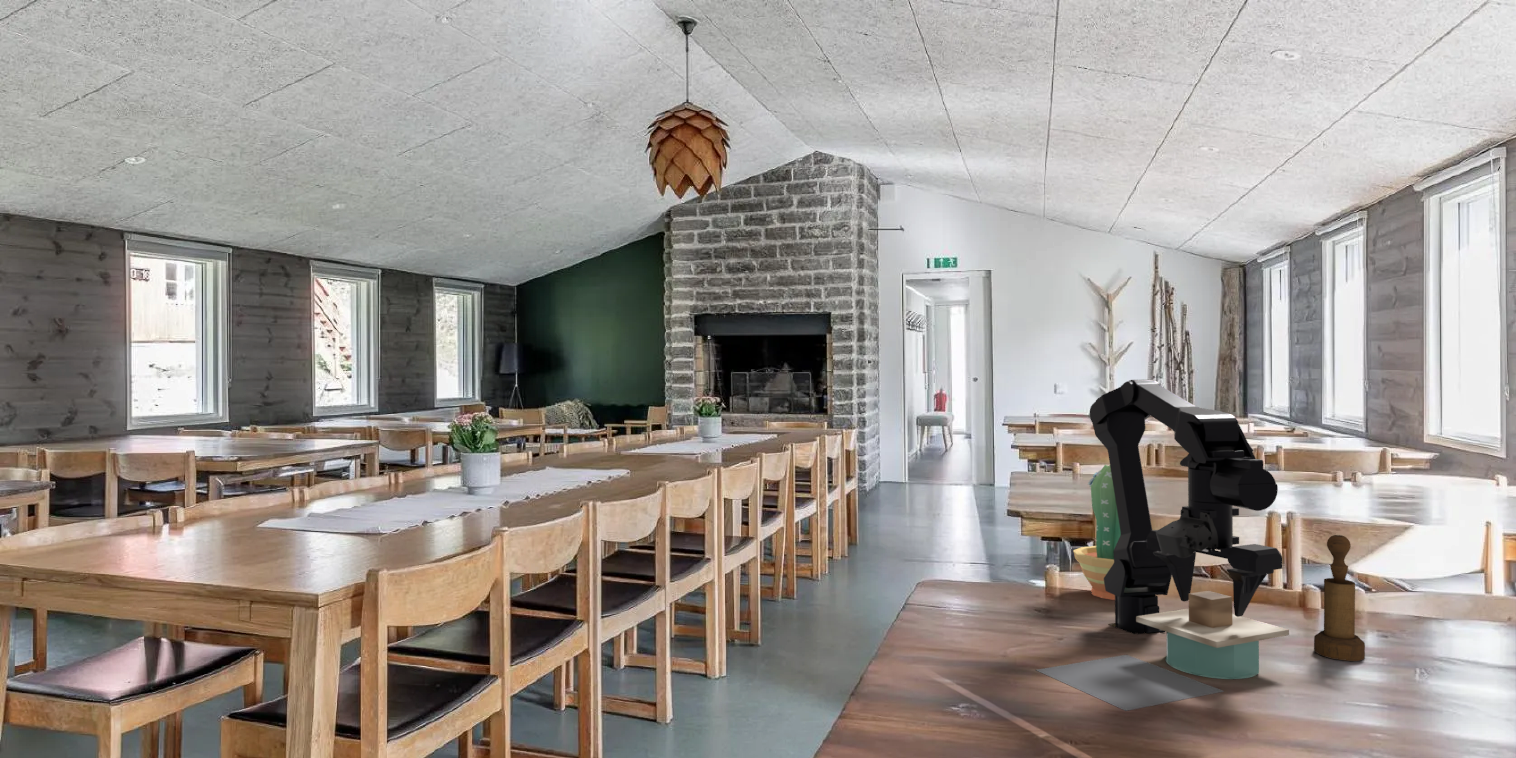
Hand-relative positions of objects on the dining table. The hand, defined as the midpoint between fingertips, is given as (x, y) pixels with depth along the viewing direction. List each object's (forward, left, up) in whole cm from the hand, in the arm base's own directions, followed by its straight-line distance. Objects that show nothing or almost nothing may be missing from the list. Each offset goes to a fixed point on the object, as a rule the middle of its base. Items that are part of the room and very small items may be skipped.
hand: (1210, 608), depth 130 cm
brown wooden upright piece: (+3, +23, -9) cm, 25 cm away
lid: (0, 0, -3) cm, 3 cm away
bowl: (0, 0, -9) cm, 9 cm away
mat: (0, -16, -9) cm, 18 cm away
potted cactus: (-39, +20, -9) cm, 45 cm away
